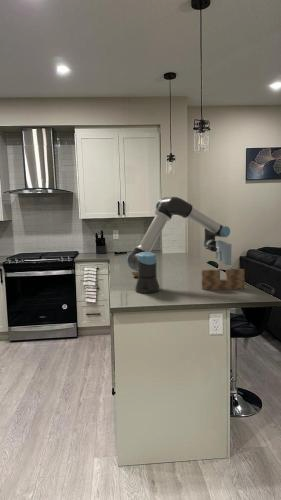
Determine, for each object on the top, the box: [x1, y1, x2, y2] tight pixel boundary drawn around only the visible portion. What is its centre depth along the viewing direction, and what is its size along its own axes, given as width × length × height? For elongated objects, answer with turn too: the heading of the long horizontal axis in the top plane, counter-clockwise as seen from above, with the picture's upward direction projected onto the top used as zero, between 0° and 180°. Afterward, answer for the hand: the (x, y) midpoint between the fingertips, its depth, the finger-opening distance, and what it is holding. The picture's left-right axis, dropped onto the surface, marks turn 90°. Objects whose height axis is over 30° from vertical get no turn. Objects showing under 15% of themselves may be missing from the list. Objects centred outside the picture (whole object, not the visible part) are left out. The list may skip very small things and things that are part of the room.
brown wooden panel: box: [201, 268, 245, 291], centre depth 194 cm, size 26×3×12 cm, turn 90°
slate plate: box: [215, 239, 233, 266], centre depth 192 cm, size 24×3×12 cm, turn 0°
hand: (222, 249), depth 195 cm, fingers closed on slate plate, 3 cm apart
